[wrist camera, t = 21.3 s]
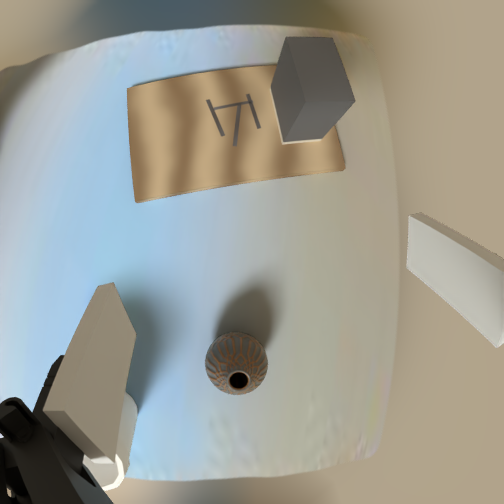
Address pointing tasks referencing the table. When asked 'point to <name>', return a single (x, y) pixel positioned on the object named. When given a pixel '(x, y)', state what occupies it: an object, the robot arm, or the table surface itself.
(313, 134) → the block
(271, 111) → the board
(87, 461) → the foam cup
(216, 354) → the vase
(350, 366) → the table surface
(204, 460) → the table surface
